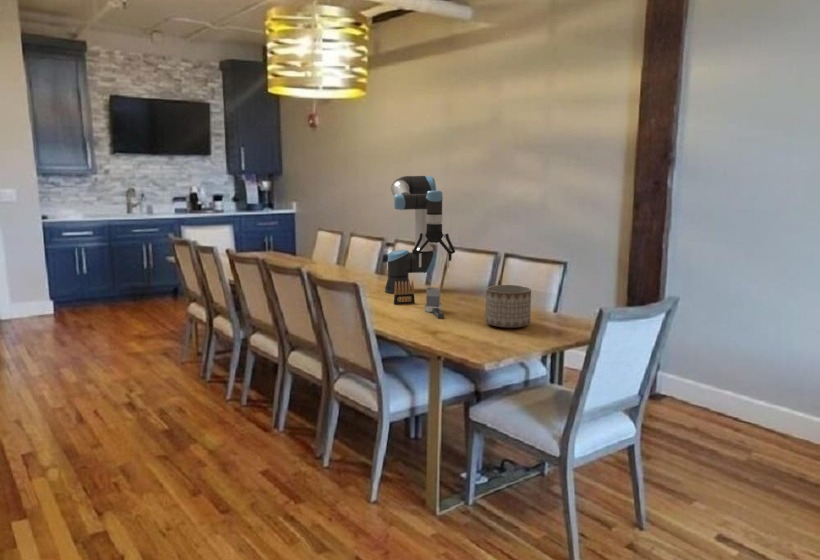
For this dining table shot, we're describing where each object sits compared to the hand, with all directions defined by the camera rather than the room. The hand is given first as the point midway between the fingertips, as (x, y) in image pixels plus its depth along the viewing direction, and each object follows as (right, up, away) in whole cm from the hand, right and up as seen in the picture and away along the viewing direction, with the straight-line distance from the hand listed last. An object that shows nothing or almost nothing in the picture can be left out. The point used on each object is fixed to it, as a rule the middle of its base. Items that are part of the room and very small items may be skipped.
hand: (434, 267), depth 298 cm
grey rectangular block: (0, -18, +1) cm, 18 cm away
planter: (+31, -26, -26) cm, 49 cm away
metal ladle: (+1, -22, -4) cm, 23 cm away
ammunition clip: (-15, -19, +19) cm, 30 cm away
